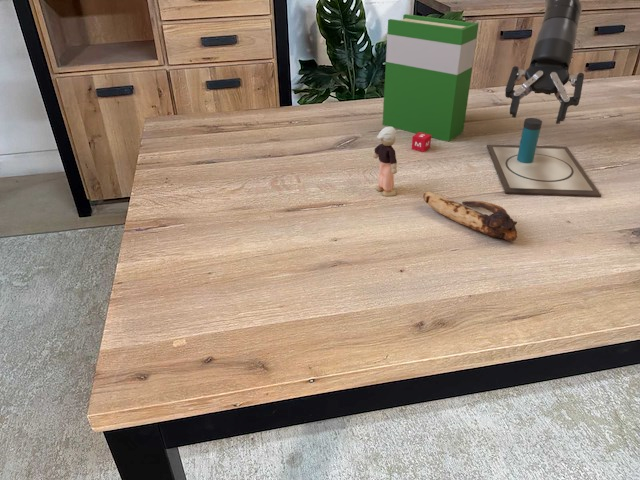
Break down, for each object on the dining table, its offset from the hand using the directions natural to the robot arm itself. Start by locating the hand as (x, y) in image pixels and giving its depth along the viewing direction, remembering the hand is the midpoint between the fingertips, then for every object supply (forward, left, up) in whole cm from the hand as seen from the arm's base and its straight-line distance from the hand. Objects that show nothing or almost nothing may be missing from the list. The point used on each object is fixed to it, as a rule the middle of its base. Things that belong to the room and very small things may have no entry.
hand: (535, 119), depth 107 cm
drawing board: (-1, +5, -9) cm, 10 cm away
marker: (+1, +2, -8) cm, 8 cm away
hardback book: (+21, -16, -9) cm, 28 cm away
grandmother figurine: (+30, +16, -9) cm, 35 cm away
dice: (+22, -4, -9) cm, 24 cm away
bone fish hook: (+15, +26, -9) cm, 31 cm away
